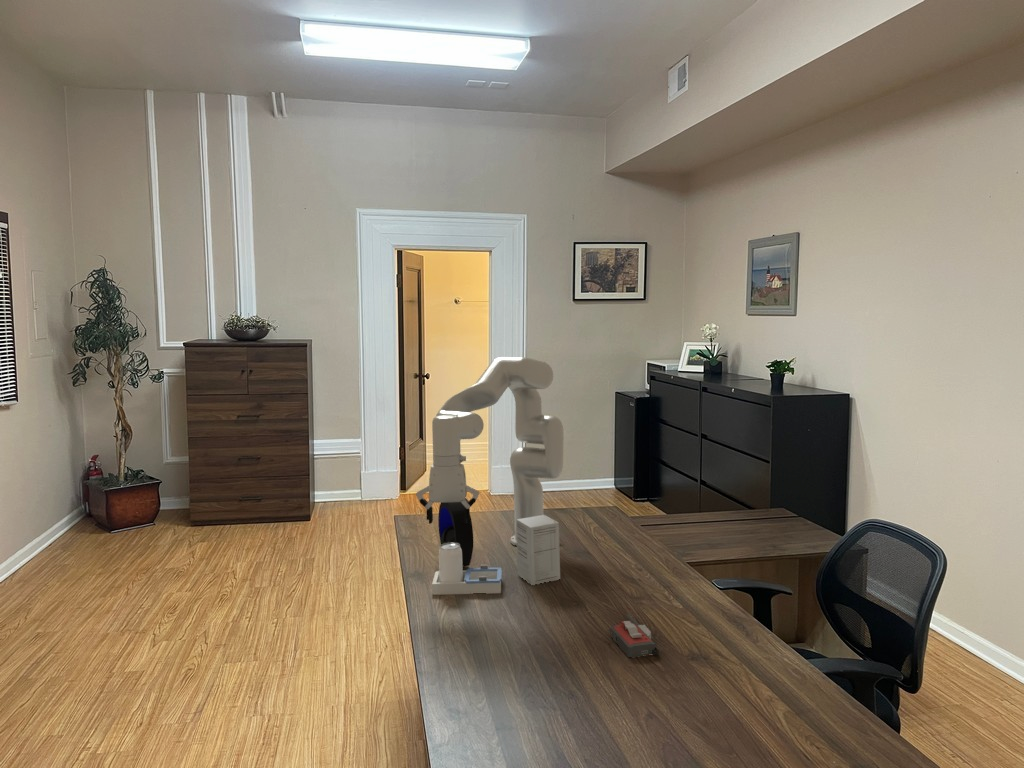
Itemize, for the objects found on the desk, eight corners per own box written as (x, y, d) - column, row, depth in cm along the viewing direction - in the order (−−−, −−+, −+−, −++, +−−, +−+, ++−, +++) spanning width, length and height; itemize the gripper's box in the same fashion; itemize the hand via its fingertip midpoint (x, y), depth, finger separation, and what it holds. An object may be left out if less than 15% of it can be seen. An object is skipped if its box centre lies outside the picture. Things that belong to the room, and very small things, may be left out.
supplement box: (546, 569, 211) (544, 513, 209) (561, 579, 202) (560, 521, 201) (516, 575, 206) (515, 518, 205) (531, 586, 198) (529, 527, 196)
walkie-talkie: (667, 657, 157) (631, 619, 176) (668, 638, 156) (631, 602, 176) (630, 662, 155) (597, 624, 174) (630, 643, 154) (597, 606, 174)
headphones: (476, 572, 210) (474, 505, 208) (455, 575, 208) (452, 508, 206) (457, 552, 227) (455, 491, 225) (437, 555, 225) (435, 493, 223)
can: (467, 585, 200) (466, 543, 199) (456, 593, 194) (454, 550, 193) (447, 581, 203) (445, 540, 202) (435, 590, 197) (433, 547, 196)
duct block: (502, 579, 203) (501, 564, 203) (501, 593, 193) (501, 577, 193) (436, 581, 204) (435, 565, 203) (432, 595, 194) (431, 578, 193)
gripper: (479, 457, 199) (480, 518, 200) (417, 458, 199) (418, 518, 200) (477, 462, 191) (479, 525, 192) (413, 463, 191) (415, 526, 193)
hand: (448, 522), depth 196 cm, fingers open, 9 cm apart
